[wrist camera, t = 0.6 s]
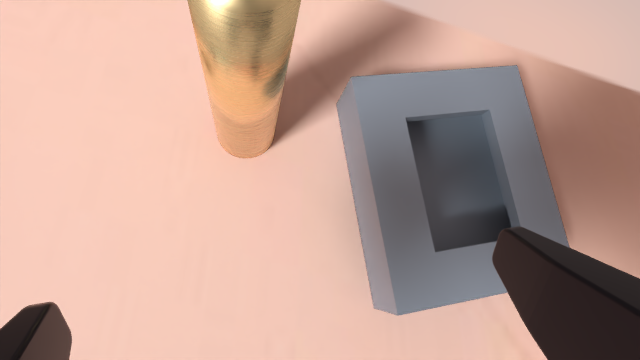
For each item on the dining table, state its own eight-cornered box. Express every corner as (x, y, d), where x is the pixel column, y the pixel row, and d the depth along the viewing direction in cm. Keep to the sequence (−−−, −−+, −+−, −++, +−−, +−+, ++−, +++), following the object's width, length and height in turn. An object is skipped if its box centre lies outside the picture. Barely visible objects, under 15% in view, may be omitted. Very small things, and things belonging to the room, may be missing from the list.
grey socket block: (530, 276, 23) (578, 277, 20) (374, 308, 21) (397, 315, 18) (481, 92, 26) (517, 65, 22) (336, 104, 24) (351, 76, 20)
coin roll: (285, 131, 23) (332, -41, 10) (247, 169, 22) (247, 34, 9) (244, 94, 23) (241, -120, 10) (204, 131, 22) (147, -54, 9)
